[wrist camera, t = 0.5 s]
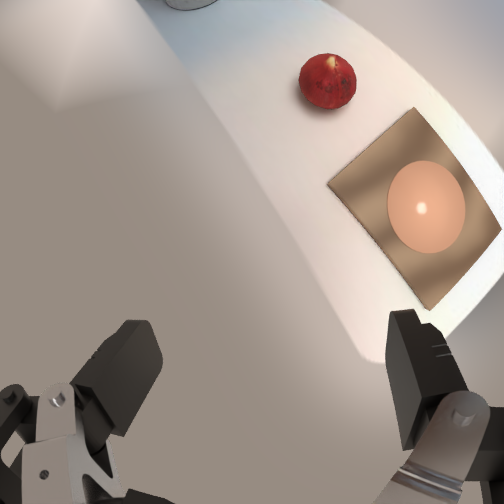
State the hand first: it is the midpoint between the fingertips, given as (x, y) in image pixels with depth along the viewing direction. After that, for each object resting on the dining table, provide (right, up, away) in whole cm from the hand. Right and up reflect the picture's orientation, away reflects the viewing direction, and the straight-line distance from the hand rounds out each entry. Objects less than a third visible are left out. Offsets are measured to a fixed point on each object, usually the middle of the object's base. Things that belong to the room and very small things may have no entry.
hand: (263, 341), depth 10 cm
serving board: (+19, +8, +21) cm, 29 cm away
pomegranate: (+8, +20, +21) cm, 30 cm away
